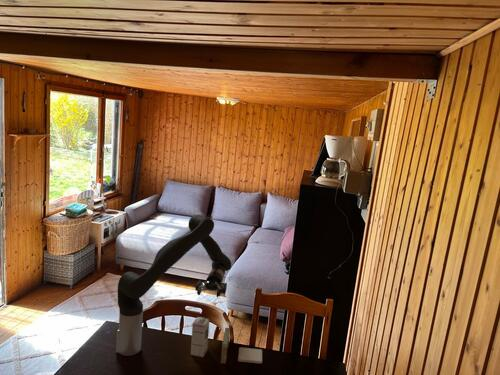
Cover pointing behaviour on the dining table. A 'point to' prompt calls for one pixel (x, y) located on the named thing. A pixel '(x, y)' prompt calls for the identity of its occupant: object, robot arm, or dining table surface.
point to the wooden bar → (226, 337)
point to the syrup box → (200, 336)
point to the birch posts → (224, 353)
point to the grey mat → (250, 355)
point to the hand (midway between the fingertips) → (208, 294)
